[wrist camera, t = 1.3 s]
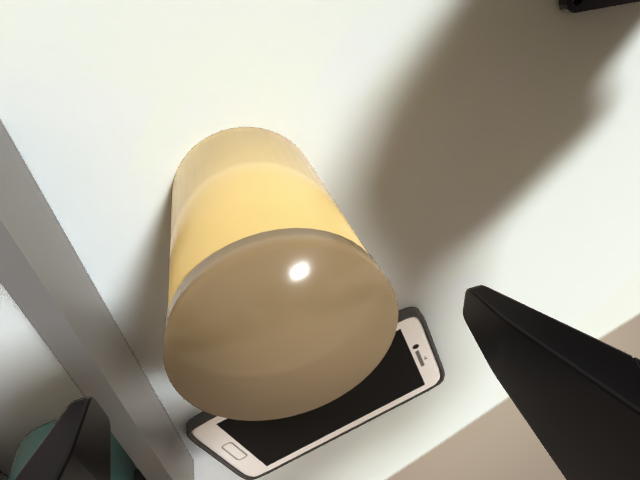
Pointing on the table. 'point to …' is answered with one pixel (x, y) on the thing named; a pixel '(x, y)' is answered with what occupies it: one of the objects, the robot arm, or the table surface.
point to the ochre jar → (267, 284)
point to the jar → (120, 460)
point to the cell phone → (326, 408)
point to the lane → (80, 323)
